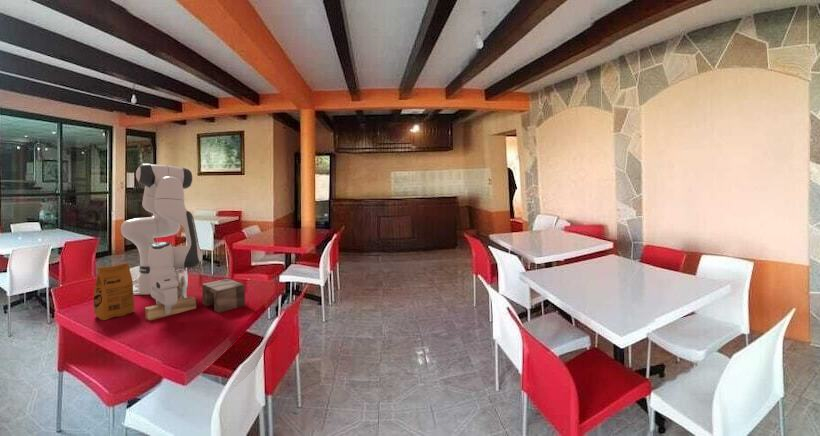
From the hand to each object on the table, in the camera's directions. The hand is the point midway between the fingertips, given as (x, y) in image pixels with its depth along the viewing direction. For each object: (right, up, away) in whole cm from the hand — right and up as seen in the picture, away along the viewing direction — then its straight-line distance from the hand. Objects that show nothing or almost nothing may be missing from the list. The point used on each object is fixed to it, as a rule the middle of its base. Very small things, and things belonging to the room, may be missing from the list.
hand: (163, 311), depth 148 cm
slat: (+2, -2, +3) cm, 4 cm away
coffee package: (-21, -2, -1) cm, 21 cm away
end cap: (+19, -1, +14) cm, 23 cm away
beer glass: (-5, 0, +17) cm, 18 cm away
